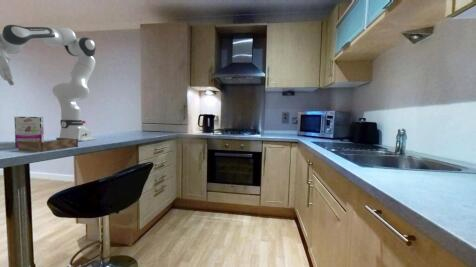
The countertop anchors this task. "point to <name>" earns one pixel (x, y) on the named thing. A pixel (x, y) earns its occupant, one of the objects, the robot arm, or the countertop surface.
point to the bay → (48, 144)
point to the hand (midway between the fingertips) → (11, 81)
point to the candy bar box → (29, 129)
